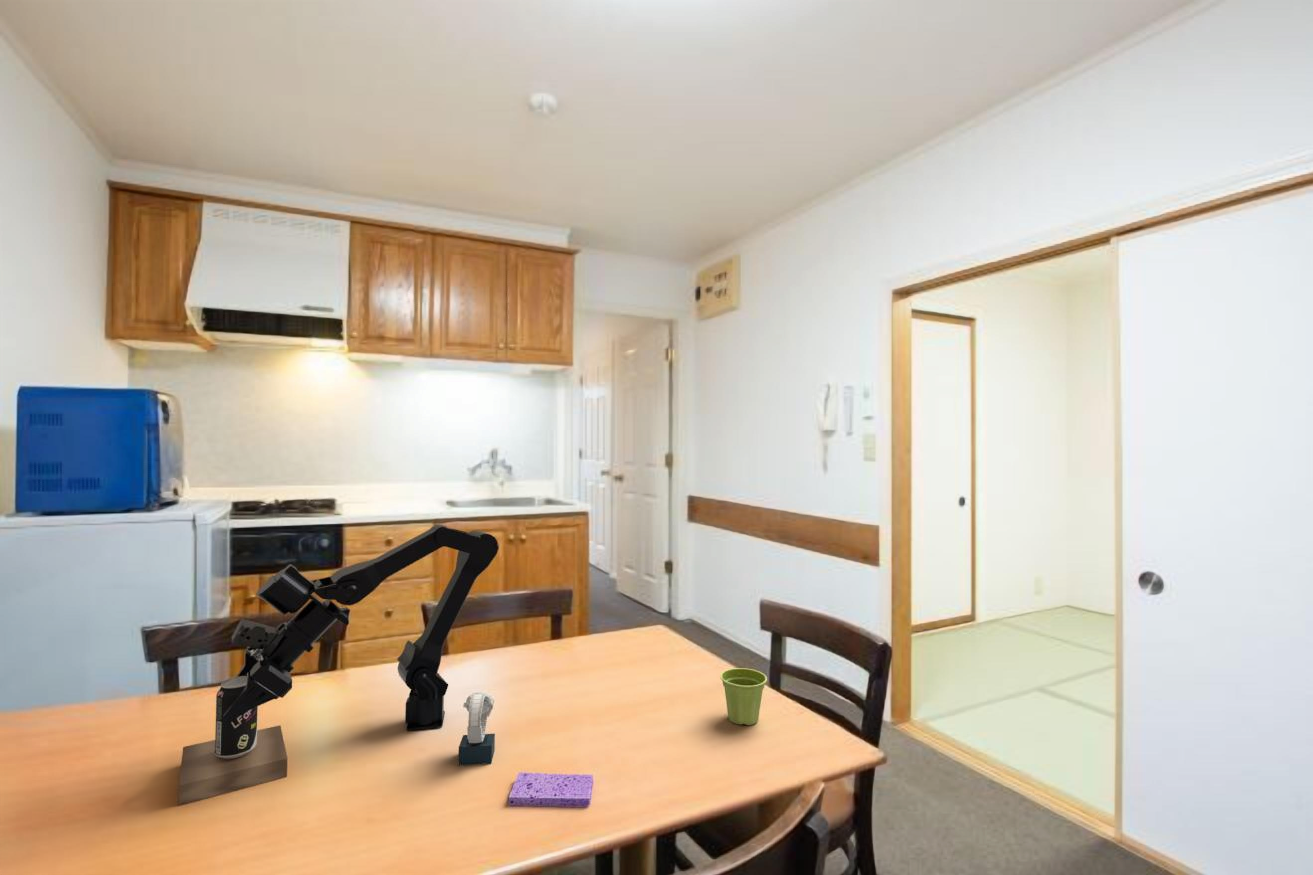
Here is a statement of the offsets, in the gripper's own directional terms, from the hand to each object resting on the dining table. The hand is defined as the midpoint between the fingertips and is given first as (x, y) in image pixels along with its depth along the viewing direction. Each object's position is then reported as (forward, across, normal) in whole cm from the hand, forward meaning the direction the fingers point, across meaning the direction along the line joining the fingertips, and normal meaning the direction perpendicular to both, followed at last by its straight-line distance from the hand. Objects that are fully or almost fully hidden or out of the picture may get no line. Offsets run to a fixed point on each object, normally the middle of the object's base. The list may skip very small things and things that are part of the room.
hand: (225, 707), depth 99 cm
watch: (-18, +19, +33) cm, 42 cm away
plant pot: (-53, +34, +68) cm, 93 cm away
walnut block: (+7, 0, +9) cm, 11 cm away
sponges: (-22, +36, +38) cm, 57 cm away
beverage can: (+4, 0, +7) cm, 8 cm away
